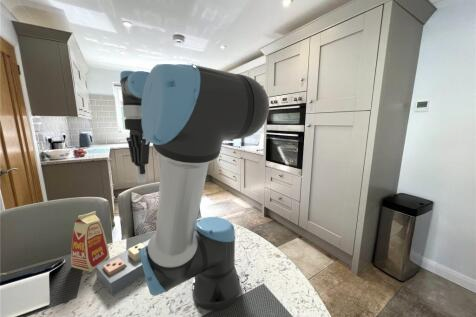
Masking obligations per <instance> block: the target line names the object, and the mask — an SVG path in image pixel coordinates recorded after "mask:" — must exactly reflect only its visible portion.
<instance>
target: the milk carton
mask: <svg viewBox="0 0 476 317" xmlns="http://www.w3.org/2000/svg"><path fill="white" fill-rule="evenodd" d="M96 212H97V211H96V210H95V211H94V210H93V211H92V212H89V213H85V214H81V215H77V217H78V218H77V220H76V221H75V222H74V227H73V233H72V238H71V251H70V259H71V261H70V262H71V268H74V269H77V270H78V269H79V270H82V271H87V272H91V273H92V272H93V271H94V270H96V266H97V265H99V264H101V263H103V262H105V261H107V260H108V258H109V259H110V257H111V255H110V251H109V246H108V241H107V238H106V237H107V236H106V234H105V231H104V228H103V225H102V222H101V220H100V218H99V217H98V216H97V215H96Z"/></svg>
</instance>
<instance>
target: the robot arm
mask: <svg viewBox="0 0 476 317" xmlns="http://www.w3.org/2000/svg"><path fill="white" fill-rule="evenodd" d="M119 83H120V89H121V95H122V96H121V97H122V109H123V111H122V112H123V117H124V129H125V130H127V131H129V136H127V137H126V142H127V145H128V149H129V150H128V151H129V155H130V160H131V163H132V164H134V166H135V173H136V183H138V184H141V183H145V182H147V175H146V165H148V164H149V159H150V158H149V157H150V145H151V144H152V148H153V150H154V151H155V153H156V154H158V155H159V156H160V157H161V160H160V173H159V176H160V177H159V187H158V188H159V189H158V202H157V214H156V227H155V232H154V233H153V234H152V235H151V237H150V238H149V239H150V240H149V239H148V240H149V243H148V246H145V247H144V248H141V249H140V251H139V255H140V259H141V263H142V266H143V270H144V274H145V275H144V277H145V281H146V284H147V288H148V291H149V292H148V293H149V294H150V295H152V296H153V297H157V296H159V295H162V294H163V293H167V292H168V291H170V290H173V289H174V288H175V287H177V286H180V285H182V284H183V283H185V282H187V281H189V280H191V279H193V281H192V286H191V287H192V288H191V289H192V292H191V293H192V298H193V300H194V302H195V304H197V305H198V306H199V307H200V308H202V309H204V310H206V311H207V310H208V311H221V310H223V309H226V308H229V307H230V306H231V305H232V304H233V303H235V302H236V301H237V299H238V297H239V295H240V291H241V280H240V276H239V275H238V272H237V269H236V266H235V264H236V261H235V256H236V254H235V253H236V252H235V250H236V249H235V248H236V246H235V244H236V242H235V241H236V234H235V226H234V225H233V223H232V222H231V221H229V220H227V219H226V218H223V217H219V216H206V217H202V218H200V219H199V220H198V216H199V211H200V208H201V207H200V206H201V203H202V198H203V193H204V188H205V183H206V179H207V175H208V171H209V170H208V169H209V164H210V163H212V162H215V161H216V160H217V159H218V158H219V156H220V153H221V149H222V145H223V142H224V141H228V140H229V141H230V140H239V139H245V138H249V137H251V136H253V135H254V134H256V133H257V132H258V131H260V130H261V129H262V128H263V126H264V125H265V123H266V121H267V119H268V116H269V113H270V101H269V97H268V94H267V91H266V90H265V88H264V87H263V85H262V84H260V83H259V82H258V81H257V80H255V79H254V78H252V77H250V76H248V75H244V74H242V73H241V74H240V73H233V72H229V71H224V70H221V69H215V68H212V67H211V68H210V67H206V66H202V65H201V66H200V65H196V64H194V63H190V62H179V61H178V62H176V61H166V60H165V61H160V62H158V63H156V64H155V65H154V66H153V67H152V69H151V70H150V72H149V71H148V70H144V69H143V70H140V69H139V70H123V71H121V72H120V81H119Z"/></svg>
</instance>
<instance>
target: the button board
mask: <svg viewBox="0 0 476 317" xmlns="http://www.w3.org/2000/svg"><path fill="white" fill-rule="evenodd" d="M149 240H150V238H149V239H147V240H146V241H143V242H141V243H142V244H143V245H145V246H148V243H149ZM117 258H120V259H121V260H122V261H123V262H124V263H125V266H126V268H124V269H122V270H120V271H118V272H117V273H115V274H113V275H111V276H110V277H109V276H108V275H107V274H106V273H105V272H104V268H103V265H105V264H107V263H109V262H111V261H113V260H115V259H117ZM95 271H96V273H95V274H96V278H97V280H98V281H99V282H100V283H101V284H102V286H104V288H105V289H106V290H107V291H108V293H109V294H111V296H112V297H113V296H115V295H117V293H119V292H121V291H122V290H125V289H126V288H127V287H129V286H131V285H132V284H134V283H135V282H136V281H138V280H139V279H141V278H143V277H145V274H144V270H143V266H142V263H141V259H140V260H138V261H136V262H134V261H133V260H132V259H131V258H130V257H129V256H128V249H127V250H125V251H123V252H121V253H119V254H116V255H115V256H113V257H111V258H109V259H106V260H105V261H104V262H103V263H101V264H99V265H97V266H96V268H95Z"/></svg>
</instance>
